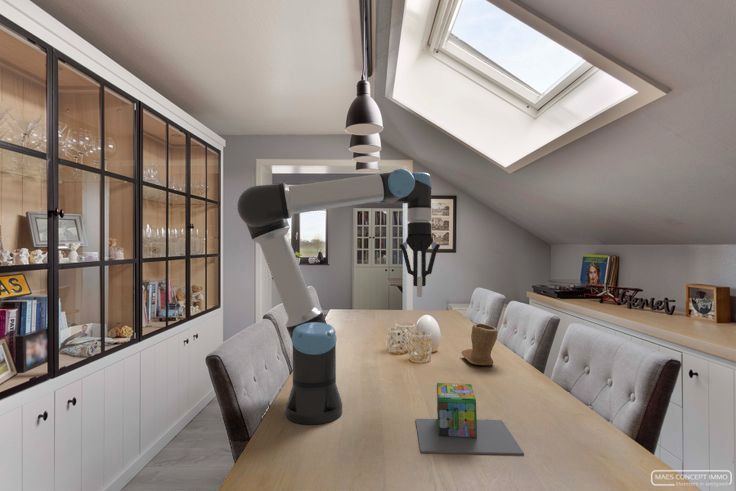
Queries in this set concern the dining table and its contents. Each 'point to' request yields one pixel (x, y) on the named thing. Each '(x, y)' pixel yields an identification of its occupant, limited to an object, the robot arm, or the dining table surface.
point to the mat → (468, 439)
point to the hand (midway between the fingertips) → (419, 296)
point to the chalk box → (456, 410)
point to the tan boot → (481, 344)
